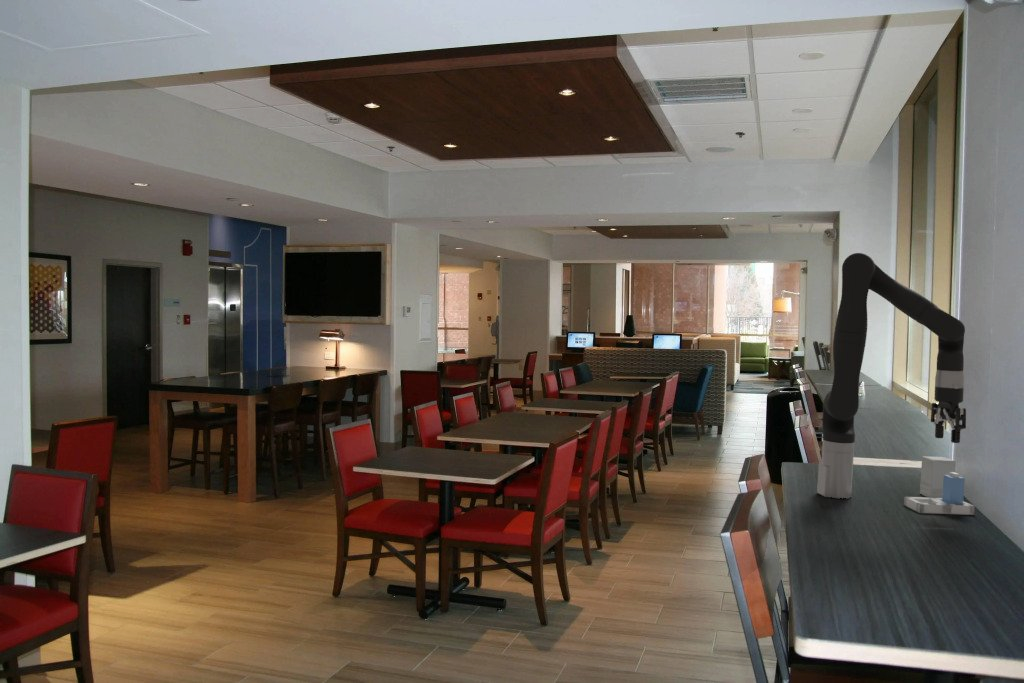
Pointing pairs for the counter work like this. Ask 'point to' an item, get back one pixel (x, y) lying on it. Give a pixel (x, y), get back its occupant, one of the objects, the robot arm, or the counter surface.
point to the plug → (953, 488)
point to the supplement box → (934, 475)
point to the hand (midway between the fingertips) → (947, 440)
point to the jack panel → (937, 506)
